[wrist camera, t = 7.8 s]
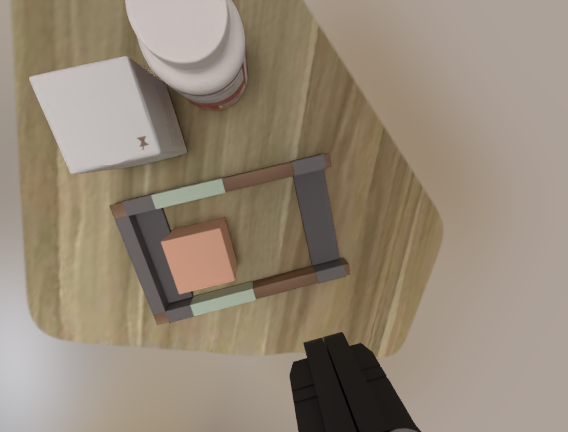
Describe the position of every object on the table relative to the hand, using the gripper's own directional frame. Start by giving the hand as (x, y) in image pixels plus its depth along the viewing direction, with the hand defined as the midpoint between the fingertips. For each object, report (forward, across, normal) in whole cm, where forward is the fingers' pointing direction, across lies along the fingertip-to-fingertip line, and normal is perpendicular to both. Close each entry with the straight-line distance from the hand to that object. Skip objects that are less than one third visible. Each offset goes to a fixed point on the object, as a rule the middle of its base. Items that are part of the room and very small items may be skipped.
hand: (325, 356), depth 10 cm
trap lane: (+18, +4, 0) cm, 18 cm away
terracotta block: (+18, +8, 0) cm, 19 cm away
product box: (+18, +10, -12) cm, 24 cm away
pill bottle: (+18, +3, -15) cm, 23 cm away
